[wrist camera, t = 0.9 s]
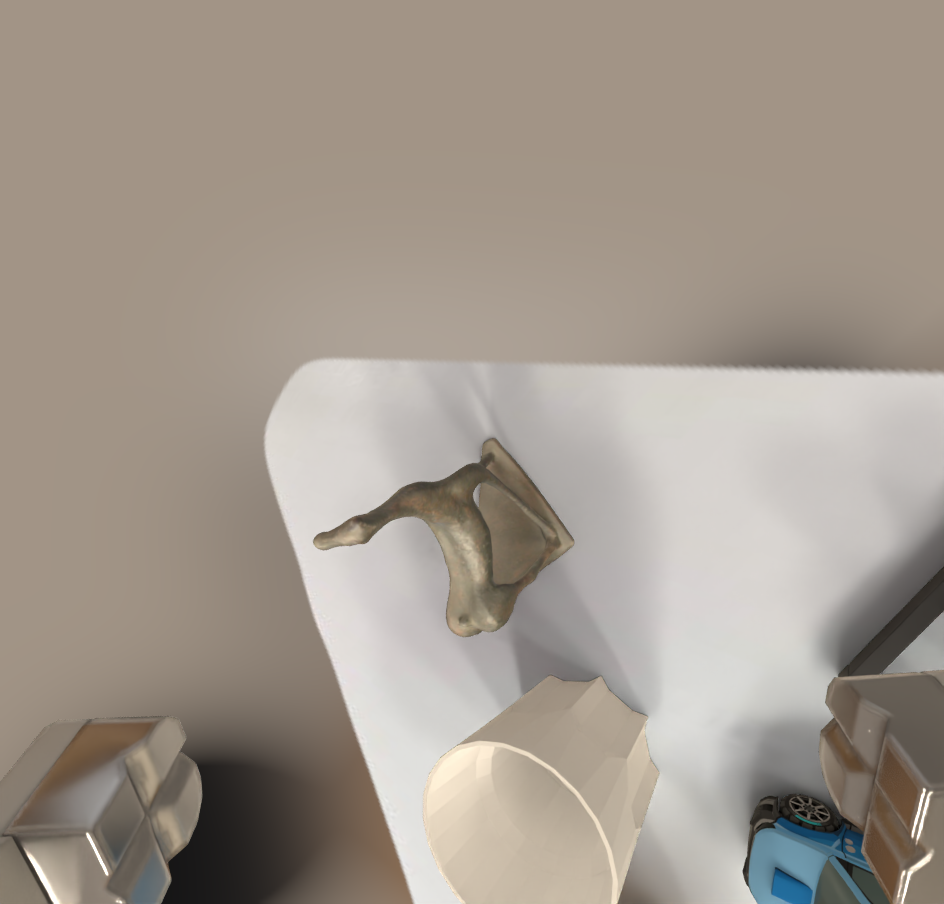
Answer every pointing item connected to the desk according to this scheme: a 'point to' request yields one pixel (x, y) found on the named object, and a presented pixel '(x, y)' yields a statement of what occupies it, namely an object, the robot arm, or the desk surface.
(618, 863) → the cup
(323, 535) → the figurine
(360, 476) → the desk surface
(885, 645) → the rack
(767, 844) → the toy car
